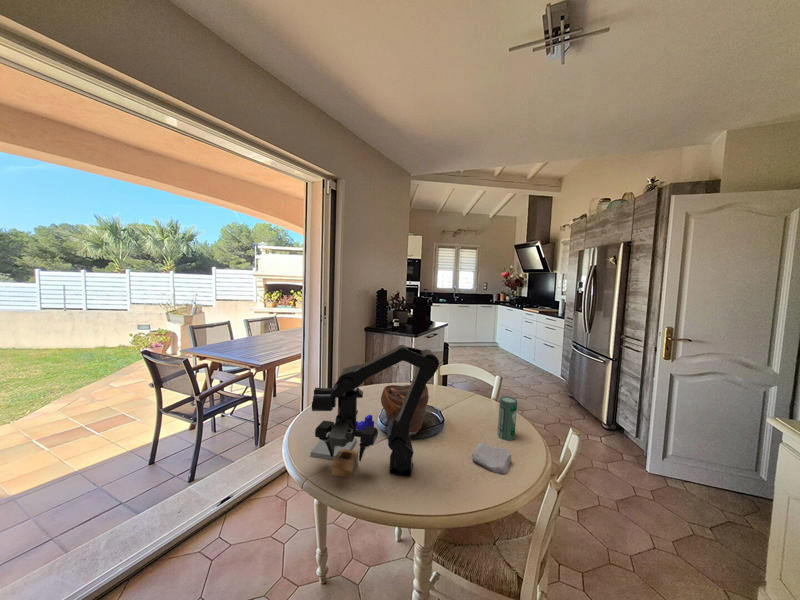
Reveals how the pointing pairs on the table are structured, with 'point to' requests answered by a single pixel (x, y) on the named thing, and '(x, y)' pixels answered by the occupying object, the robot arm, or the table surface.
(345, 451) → the wooden hollow block
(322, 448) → the post stand
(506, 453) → the stone block
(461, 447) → the table surface
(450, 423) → the table surface
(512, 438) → the can
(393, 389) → the brown pot
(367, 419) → the blue curved bracket
